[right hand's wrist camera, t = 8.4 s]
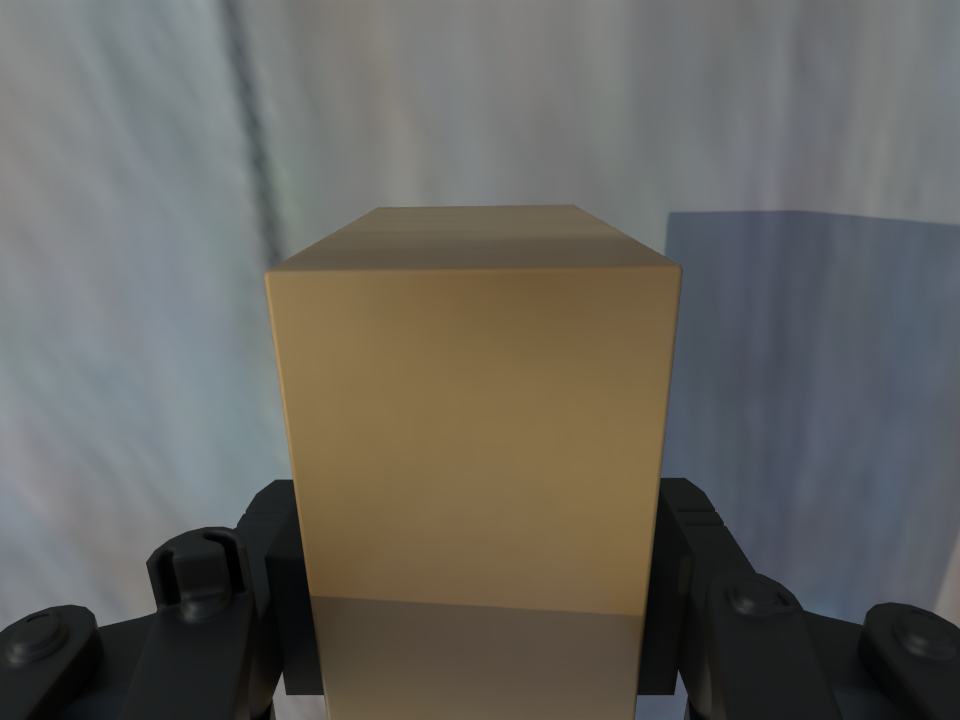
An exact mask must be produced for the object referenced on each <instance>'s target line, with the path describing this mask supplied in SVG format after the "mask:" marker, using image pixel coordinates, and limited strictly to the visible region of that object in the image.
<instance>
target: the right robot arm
mask: <svg viewBox="0 0 960 720" xmlns="http://www.w3.org/2000/svg"><path fill="white" fill-rule="evenodd" d="M146 565H147V569H148V573H149V577H150V581H151V585H152V589H153V593H154V597H155V601H156V605H157V612H156V613H154V614H150V615H147V616H144V617H141V618H137V619H132V620H128V621H124V622H119V623H115V624H111V625H107V626H102V627H98V625H97V622H96V619H95V615H94V614H93V613H92V612H91V611H90V610H88V609H87V608H86V607H82V606H76V605H64V606H57V607H50V608H47V609H44V610H42V611H39V612H36V613H33V614H30V615H28V616H26V617H24V618H22V619H20V620H19V621H17V622H15V623H13V624H11V625H10V626H8V627H6V628H5V629H4V630H3V631H2V632H0V720H276V717H275V710H274V704H273V698H272V697H273V694H274V692H275V689H276V686H277V684H278V681H279V678H280V676H281V673H282V671H283V677H284V684H285V690H286V695H324V691H323V684H322V677H321V670H320V663H319V656H318V649H317V642H316V635H315V628H314V621H313V614H312V607H311V600H310V593H309V586H308V579H307V572H306V565H305V558H304V552H303V545H302V538H301V531H300V524H299V517H298V510H297V503H296V496H295V489H294V482H293V480H275V481H273V482H272V483H270V484H269V485H268V486H266V487H265V488H264V489H262V490H261V491H260V492H258V493H257V494H256V495H255V497H254V499H253V500H252V502H251V503H250V505H249V506H248V508H247V510H246V514H243V516H242V517H241V519H240V520H239V522H238V524H237V528H234V529H230V528H226V527H204V528H200V529H196V530H192V531H188V532H185V533H183V534H181V535H179V536H177V537H174V538H172V539H170V540H168V541H167V542H166V543H164V544H163V545H162V546H160V547H159V548H158V549H156V550H155V551H154V552H153V554H152V555H151V556H150V558H149V559H148V561H147V562H146ZM678 669H679V672H680V675H681V677H682V680H683V683H684V685H685V688H686V691H687V693H688V698H687V704H686V710H685V716H684V720H960V629H959V628H958V627H957V626H955V625H954V624H953V623H951V622H949V621H947V620H945V619H943V618H941V617H940V616H938V615H936V614H934V613H932V612H929V611H926V610H924V609H921V608H918V607H915V606H912V605H907V604H899V603H892V602H890V603H884V604H878V605H875V606H874V607H872V608H871V609H870V610H869V611H868V612H867V614H866V617H865V620H864V624H863V625H860V624H855V623H851V622H847V621H842V620H838V619H834V618H829V617H825V616H821V615H818V614H814V613H811V612H808V611H805V610H803V608H802V607H801V605H800V603H799V602H798V600H797V599H796V597H795V596H794V595H793V594H792V593H791V592H790V591H789V590H787V589H786V588H785V587H784V586H783V585H781V584H780V583H778V582H776V581H774V580H772V579H770V578H768V577H766V576H764V575H761V574H758V573H756V572H755V570H754V569H753V567H752V566H751V564H750V563H749V561H748V559H747V558H746V556H745V555H744V553H743V552H742V550H741V549H740V547H739V545H738V544H737V542H736V541H735V539H734V538H733V536H732V535H731V533H730V532H729V530H728V528H727V527H726V526H724V522H723V521H722V519H721V518H720V516H719V514H718V513H717V512H715V508H714V507H713V505H712V504H711V502H710V500H709V499H708V497H707V496H706V494H705V493H704V492H703V491H702V490H701V489H699V488H698V487H696V486H695V485H694V484H692V483H691V482H690V481H688V480H687V479H686V478H660V487H659V497H658V506H657V515H656V525H655V534H654V543H653V553H652V562H651V571H650V580H649V590H648V599H647V608H646V618H645V627H644V636H643V645H642V655H641V664H640V673H639V683H638V692H637V695H674V692H675V686H676V680H677V674H678Z"/></svg>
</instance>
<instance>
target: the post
mask: <svg viewBox="0 0 960 720" xmlns="http://www.w3.org/2000/svg"><path fill="white" fill-rule="evenodd" d="M682 274H683V270H682V267H681V266H680V265H679V264H677V263H675V262H673V261H672V260H670V259H668V258H666V257H665V256H663V255H661V254H659V253H658V252H656V251H654V250H652V249H651V248H649V247H647V246H645V245H643V244H642V243H640V242H638V241H636V240H635V239H633V238H631V237H629V236H628V235H626V234H624V233H622V232H621V231H619V230H617V229H615V228H614V227H612V226H610V225H608V224H606V223H605V222H603V221H601V220H599V219H598V218H596V217H594V216H592V215H591V214H589V213H587V212H585V211H584V210H582V209H580V208H578V207H577V206H575V205H527V206H457V207H387V208H376V209H375V210H373V211H371V212H369V213H368V214H366V215H364V216H362V217H361V218H359V219H357V220H355V221H354V222H352V223H350V224H348V225H347V226H345V227H343V228H341V229H340V230H338V231H336V232H334V233H333V234H331V235H329V236H327V237H326V238H324V239H322V240H320V241H319V242H317V243H315V244H313V245H312V246H310V247H308V248H306V249H305V250H303V251H301V252H299V253H298V254H296V255H294V256H292V257H291V258H289V259H287V260H285V261H284V262H282V263H280V264H278V265H277V266H275V267H273V268H271V269H270V270H268V271H266V272H265V276H264V280H265V287H266V294H267V301H268V308H269V314H270V321H271V328H272V335H273V342H274V349H275V356H276V363H277V370H278V377H279V384H280V391H281V398H282V405H283V412H284V419H285V426H286V433H287V440H288V447H289V454H290V461H291V468H292V475H293V482H294V489H295V496H296V503H297V510H298V517H299V524H300V531H301V538H302V545H303V552H304V558H305V565H306V572H307V579H308V586H309V593H310V600H311V607H312V614H313V621H314V628H315V635H316V642H317V649H318V656H319V663H320V670H321V677H322V684H323V691H324V698H325V705H326V712H327V719H328V720H635V710H636V701H637V692H638V683H639V673H640V664H641V655H642V645H643V636H644V627H645V618H646V608H647V599H648V590H649V580H650V571H651V562H652V553H653V543H654V534H655V525H656V515H657V506H658V497H659V487H660V478H661V469H662V460H663V450H664V441H665V432H666V422H667V413H668V404H669V395H670V385H671V376H672V367H673V357H674V348H675V339H676V330H677V320H678V311H679V302H680V292H681V283H682Z"/></svg>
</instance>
